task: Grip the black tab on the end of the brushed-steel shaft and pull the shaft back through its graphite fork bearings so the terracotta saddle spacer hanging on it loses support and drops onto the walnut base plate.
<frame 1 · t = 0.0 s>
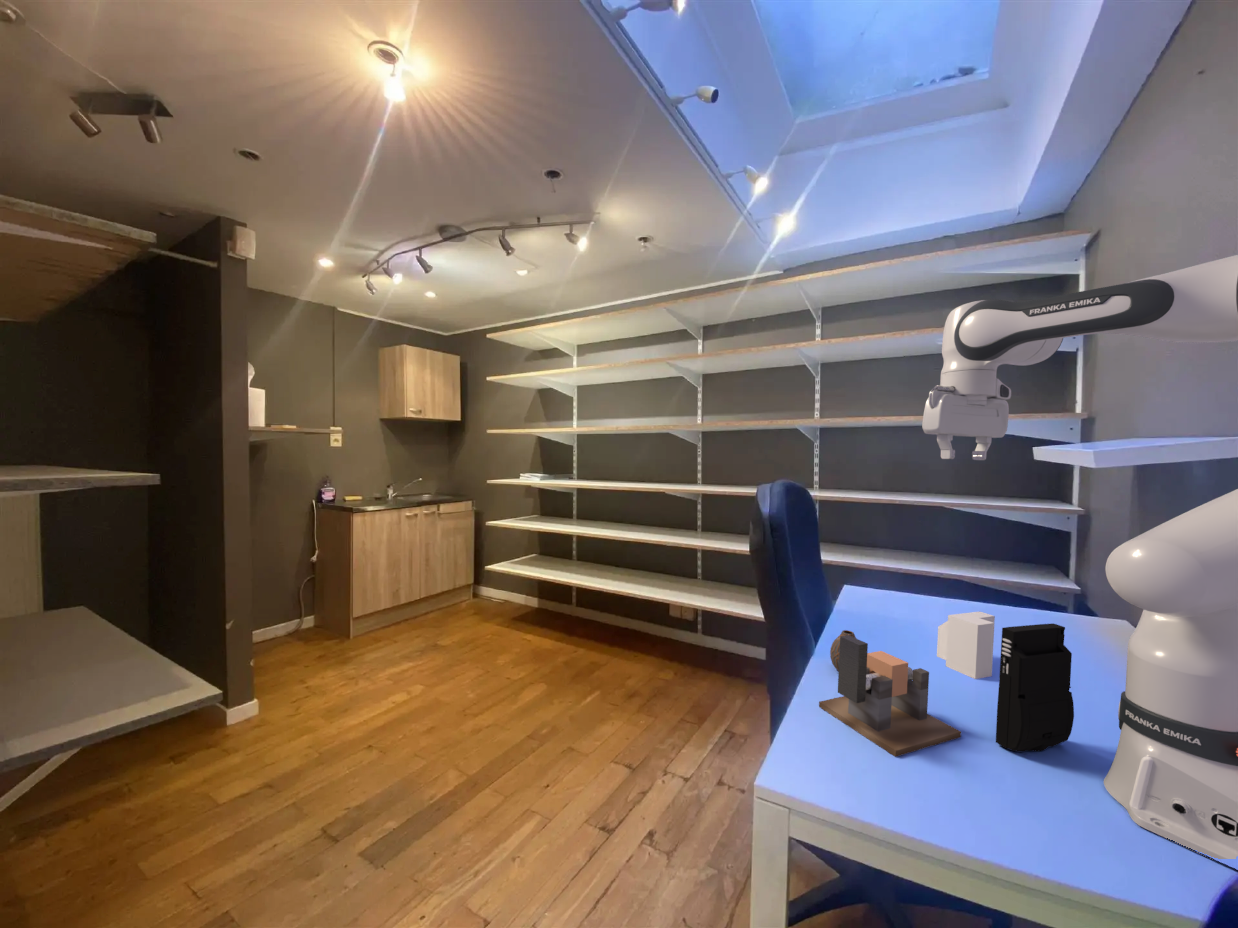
hand: (963, 459, 94), 48 cm above the table, fingers open, 8 cm apart
shaft: (879, 663, 86), point 11 cm above the table, slide at 0.0 cm, touching spacer
vase: (846, 671, 108), on the table
spacer: (885, 688, 87), point 6 cm above the table, touching shaft
shaft stand: (886, 721, 87), on the table
handheld gaming console: (1032, 747, 81), on the table
corner bracket: (965, 666, 113), on the table
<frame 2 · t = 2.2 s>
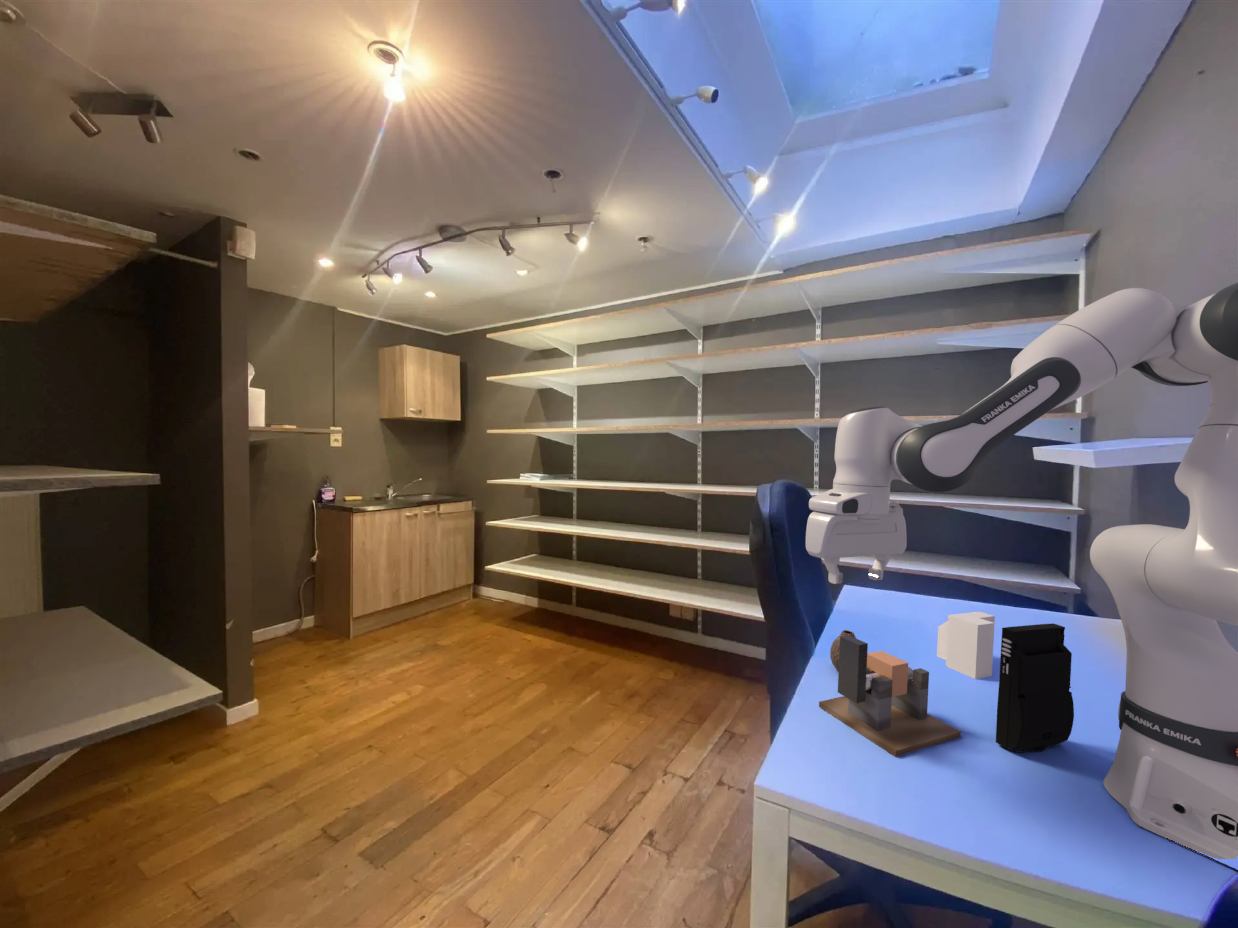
hand: (855, 581, 83), 26 cm above the table, fingers open, 8 cm apart
nothing on the table moved.
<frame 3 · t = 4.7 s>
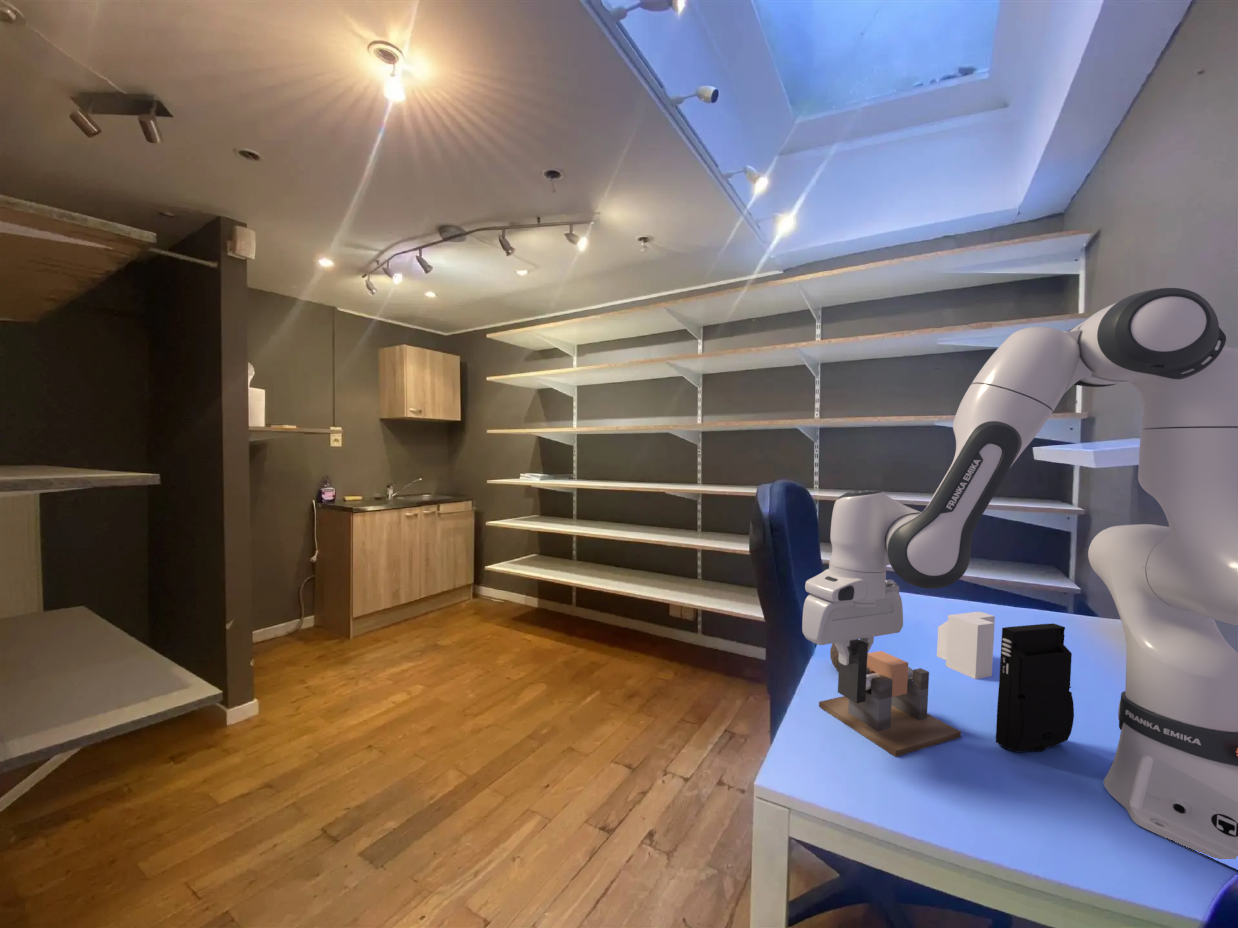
hand: (852, 662, 84), 12 cm above the table, fingers closed on shaft, 2 cm apart
shaft: (879, 663, 86), point 11 cm above the table, slide at 0.0 cm, touching gripper, spacer
everything else where it was.
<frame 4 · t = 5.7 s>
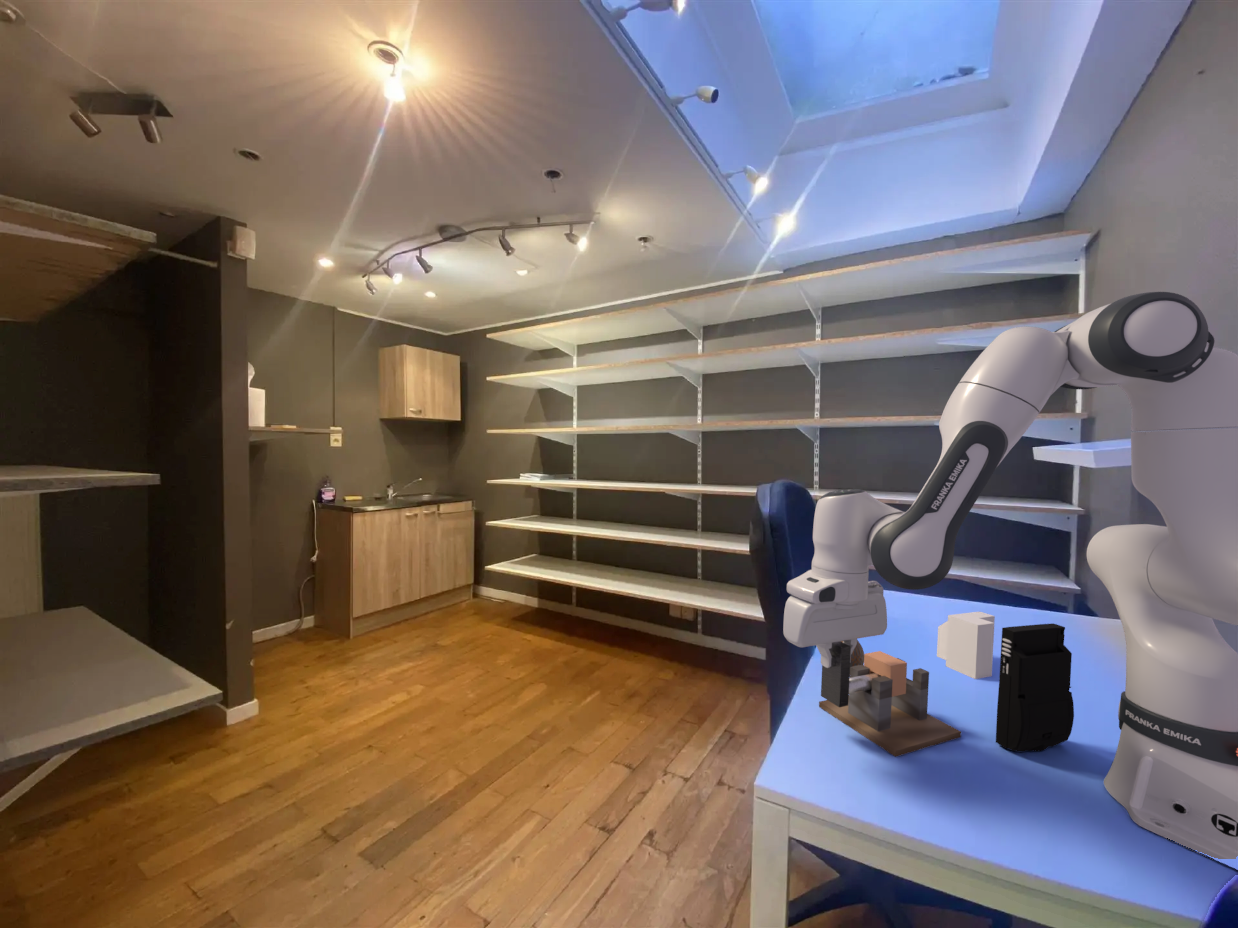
hand: (835, 664, 82), 12 cm above the table, fingers closed, pressing on shaft
shaft: (863, 666, 85), point 11 cm above the table, slide at 3.9 cm, touching gripper, spacer
spacer: (884, 688, 87), point 6 cm above the table, touching shaft, shaft stand
everything else where it was.
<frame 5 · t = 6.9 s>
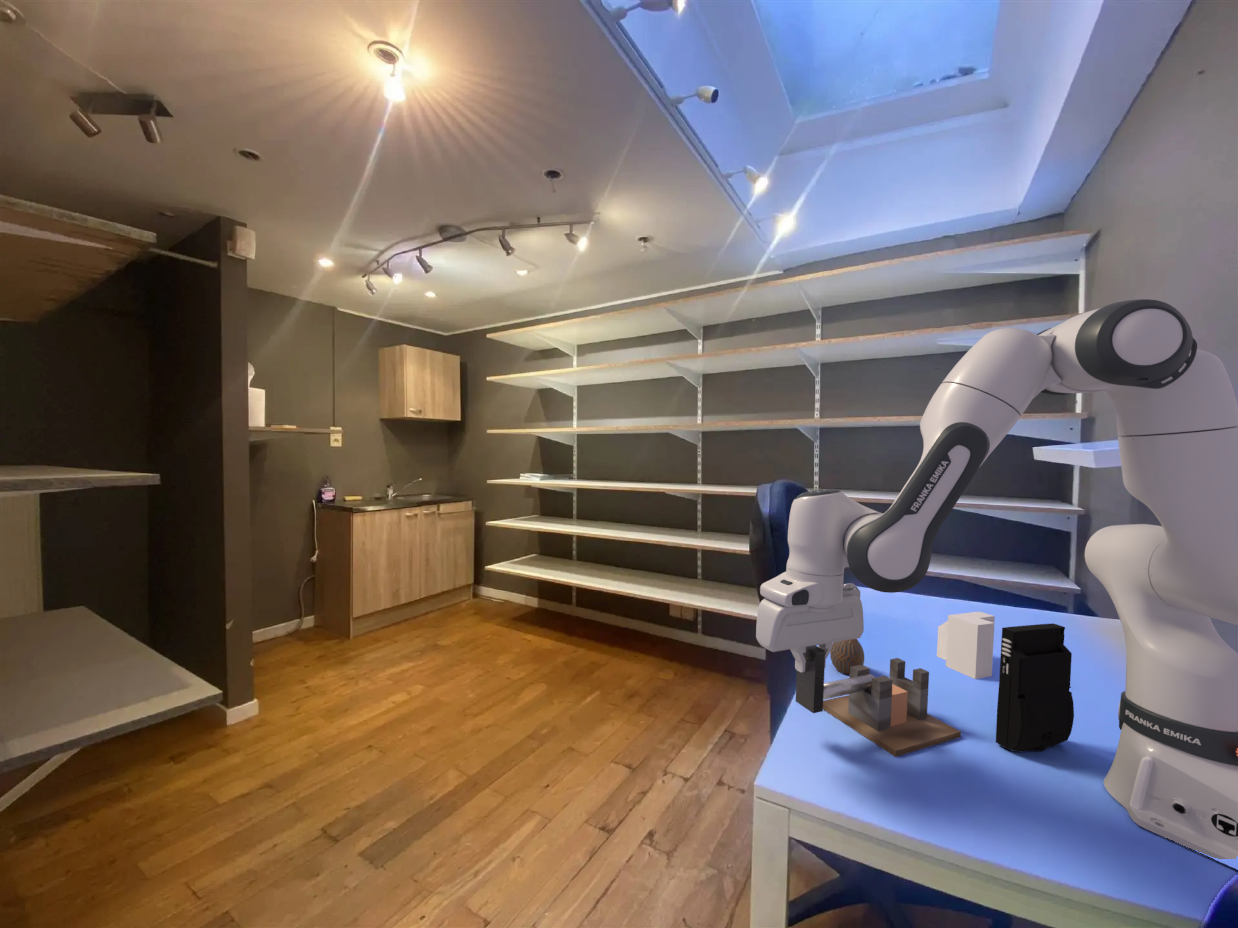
hand: (810, 669, 80), 12 cm above the table, fingers closed on shaft, 2 cm apart
shaft: (840, 670, 83), point 11 cm above the table, slide at 9.5 cm, touching gripper
spacer: (884, 716, 87), point 1 cm above the table, touching shaft stand
everything else where it was.
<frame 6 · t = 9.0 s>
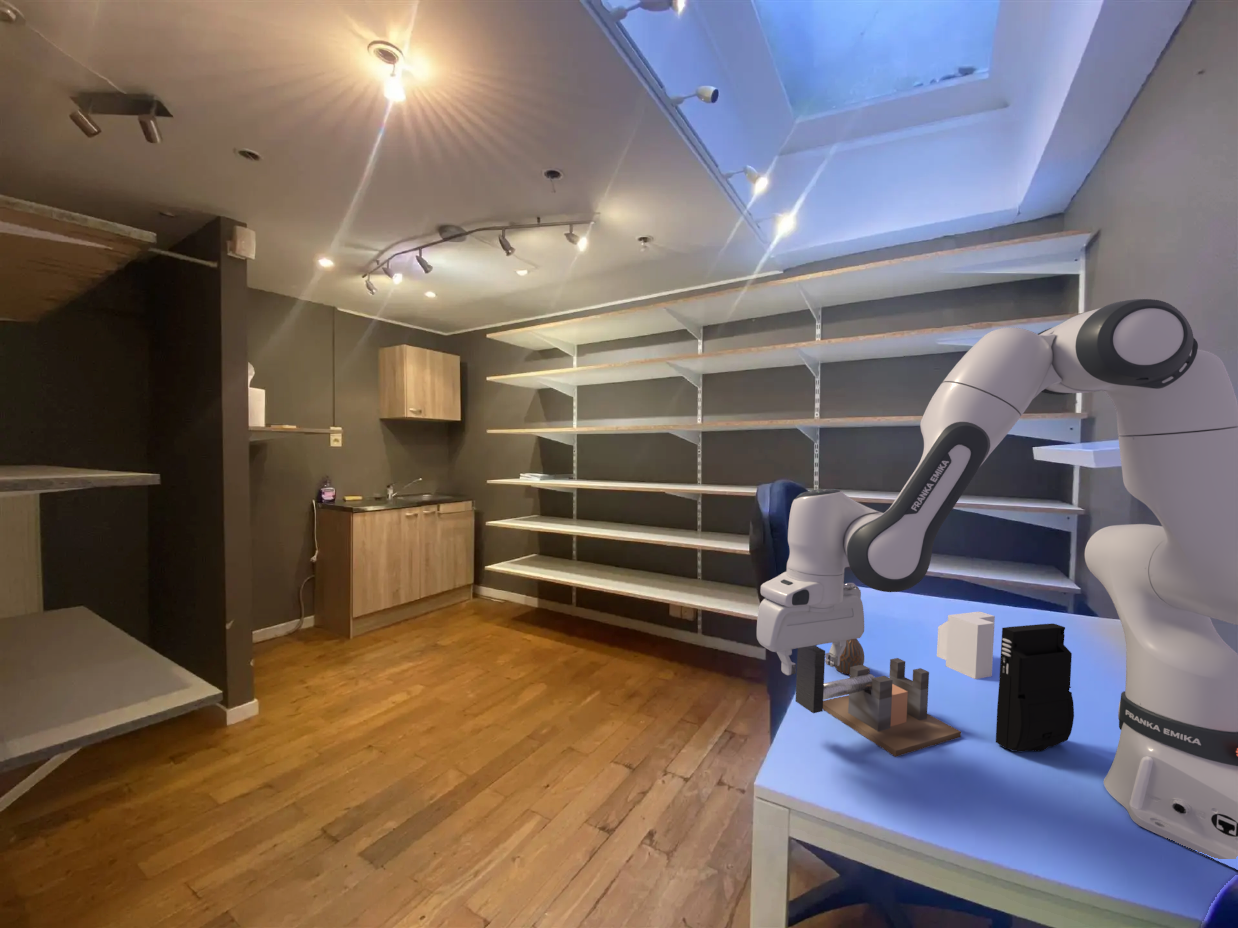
hand: (810, 669, 80), 12 cm above the table, fingers open, 8 cm apart
shaft: (840, 670, 83), point 11 cm above the table, slide at 9.5 cm
everything else where it was.
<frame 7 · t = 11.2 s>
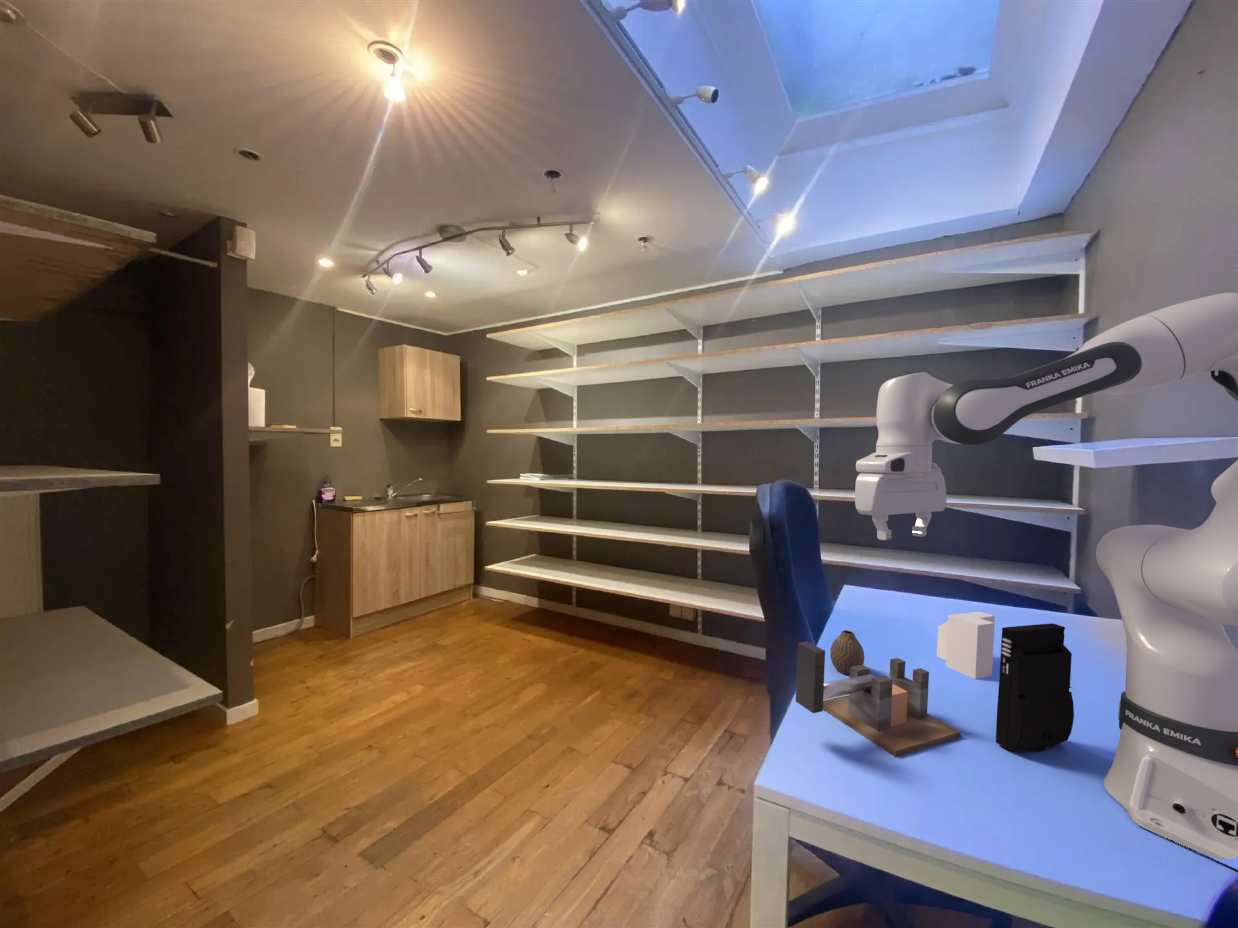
hand: (902, 537, 88), 33 cm above the table, fingers open, 8 cm apart
nothing on the table moved.
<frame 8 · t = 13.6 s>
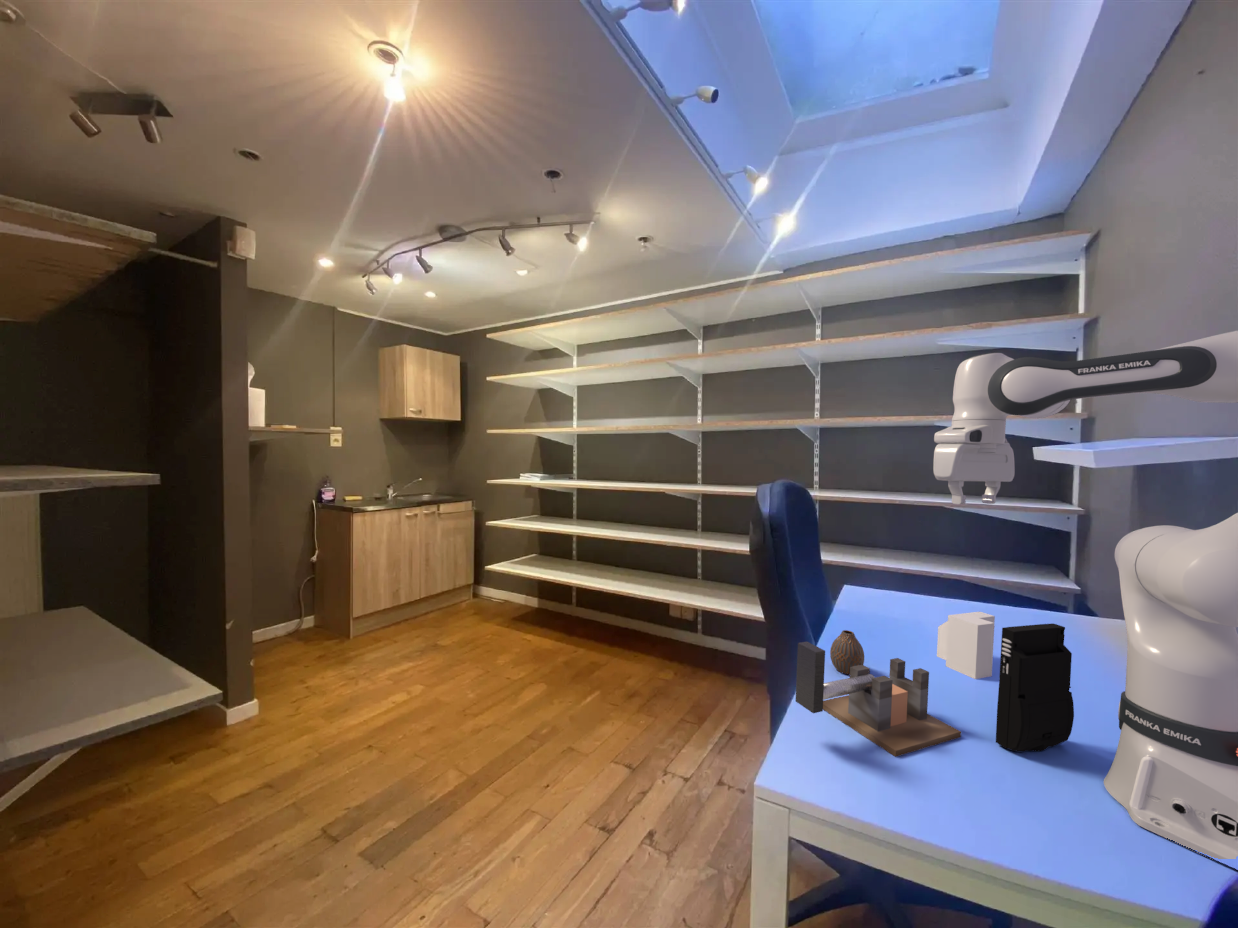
hand: (973, 503, 98), 39 cm above the table, fingers open, 8 cm apart
nothing on the table moved.
at the end: shaft slide at 9.5 cm; spacer point 1.0 cm above the table; spacer touching shaft stand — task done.
